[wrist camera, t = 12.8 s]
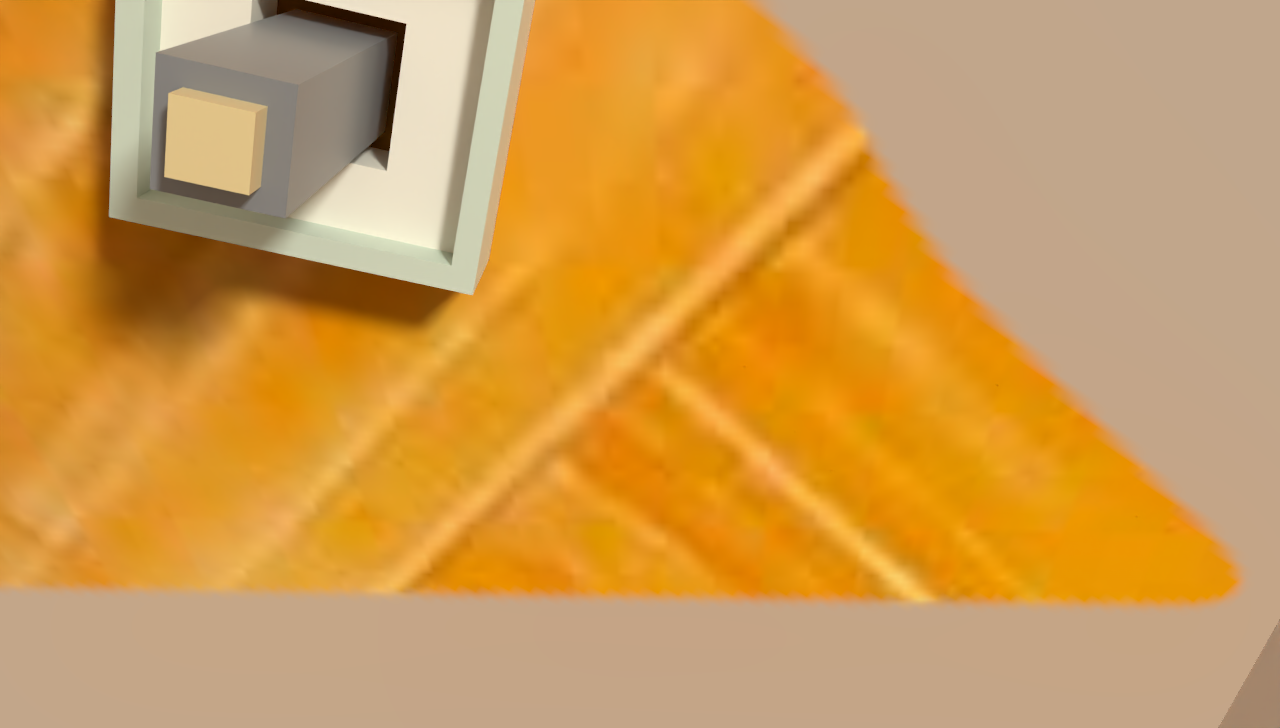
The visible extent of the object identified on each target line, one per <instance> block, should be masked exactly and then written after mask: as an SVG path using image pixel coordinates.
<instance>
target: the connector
mask: <svg viewBox="0 0 1280 728" xmlns="http://www.w3.org/2000/svg"><path fill="white" fill-rule="evenodd" d="M397 37H398V32H394V31H389V30H385V29H381V28H377V27H372V26H368V25H364V24H359V23H355V22H351V21H347V20H342V19H338V18H334V17H329V16H325V15H321V14H317V13H312V12H308V11H304V10H299V9H295V10H291V11H288V12H285V13H282V14H279V15H275V16H272V17H269V18H266V19H262V20H259V21H256V22H253V23H249V24H246V25H243V26H240V27H236V28H233V29H230V30H227V31H223V32H220V33H217V34H214V35H210V36H207V37H204V38H201V39H197V40H194V41H191V42H188V43H184V44H181V45H178V46H175V47H172V48H168V49H165V50H162V51H159V52H156V58H155V81H154V103H153V125H152V148H151V170H150V189H152V190H157V191H161V192H166V193H171V194H175V195H180V196H184V197H189V198H194V199H198V200H203V201H207V202H212V203H217V204H221V205H226V206H230V207H235V208H239V209H244V210H249V211H253V212H258V213H262V214H267V215H272V216H276V217H281V218H287V217H288V216H289V215H290V214H291V213H292V212H293V211H295V210H296V209H297V208H298V207H299V206H300V205H302V204H303V203H304V202H305V201H306V200H307V199H308V198H310V197H311V196H312V195H313V194H314V193H315V192H316V191H318V190H319V189H320V188H321V187H322V186H323V185H324V184H326V183H327V182H328V181H329V180H330V179H331V178H332V177H334V176H335V175H336V174H337V173H338V172H339V171H341V170H342V169H343V168H344V167H345V166H346V165H347V164H349V163H350V162H351V161H352V160H353V159H354V158H355V157H357V156H358V155H359V154H360V153H361V152H362V151H363V150H365V149H366V148H367V147H368V146H369V145H370V144H372V143H373V142H374V141H375V140H376V139H377V138H378V137H380V136H381V135H382V134H383V133H384V132H385V129H386V121H387V113H388V106H389V98H390V91H391V83H392V75H393V68H394V60H395V52H396V45H397Z"/></svg>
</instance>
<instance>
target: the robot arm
mask: <svg viewBox="0 0 1280 728" xmlns="http://www.w3.org/2000/svg"><path fill="white" fill-rule="evenodd" d="M1219 728H1280V620H1279V622H1278V624H1277V625H1276V627H1275V629H1274V631H1273V633H1272V634H1271V636H1270V638H1269V639H1268V641H1267V643H1266V645H1265V646H1264V648H1263V650H1262V652H1261V654H1260V655H1259V657H1258V659H1257V661H1256V662H1255V664H1254V666H1253V668H1252V669H1251V671H1250V673H1249V675H1248V677H1247V678H1246V680H1245V682H1244V684H1243V685H1242V687H1241V689H1240V691H1239V692H1238V694H1237V696H1236V698H1235V699H1234V701H1233V703H1232V705H1231V707H1230V708H1229V710H1228V712H1227V713H1226V715H1225V717H1224V719H1223V721H1222V722H1221V724H1220V726H1219Z"/></svg>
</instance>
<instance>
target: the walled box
mask: <svg viewBox="0 0 1280 728" xmlns="http://www.w3.org/2000/svg"><path fill="white" fill-rule="evenodd" d="M307 1H312V2H316V3H320V4H324V5H329V6H333V7H337V8H341V9H346V10H350V11H354V12H359V13H363V14H367V15H371V16H376V17H380V18H384V19H388V20H393V21H397V22H401V23H406V32H405V39H404V47H403V54H402V61H401V69H400V76H399V84H398V91H397V99H396V106H395V114H394V121H393V128H392V136H391V143H390V151H387V150H382V149H378V148H373V147H369V146H368V147H367V148H366V149H365V150H363V151H362V152H361V153H360V154H359V155H358V156H357V157H355V158H354V159H353V160H352V161H351V162H350V163H349V164H347V165H346V166H345V167H344V168H343V169H342V170H341V171H339V172H338V173H337V174H336V175H335V176H334V177H332V178H331V179H330V180H329V181H328V182H327V183H326V184H324V185H323V186H322V187H321V188H320V189H319V190H318V191H316V192H315V193H314V194H313V195H312V196H311V197H310V198H308V199H307V200H306V201H305V202H304V203H303V204H302V205H300V206H299V207H298V208H297V209H296V210H295V211H293V212H292V213H291V214H290V215H289V216H288V217H287V218H281V217H276V216H272V215H267V214H262V213H258V212H253V211H249V210H244V209H239V208H235V207H230V206H226V205H221V204H217V203H212V202H207V201H203V200H198V199H194V198H189V197H184V196H180V195H175V194H171V193H166V192H161V191H157V190H152V189H150V170H151V148H152V125H153V103H154V81H155V58H156V52H159V51H162V50H165V49H168V48H172V47H175V46H178V45H181V44H184V43H188V42H191V41H194V40H197V39H201V38H204V37H207V36H210V35H214V34H217V33H220V32H223V31H227V30H230V29H233V28H236V27H240V26H243V25H246V24H249V23H253V22H256V21H259V20H262V19H266V18H269V17H272V16H275V15H277V5H278V0H115V32H114V66H113V99H112V132H111V165H110V199H109V217H111V218H116V219H120V220H125V221H130V222H134V223H139V224H144V225H148V226H153V227H158V228H162V229H167V230H171V231H176V232H181V233H185V234H190V235H195V236H199V237H204V238H209V239H213V240H218V241H223V242H227V243H232V244H237V245H241V246H246V247H251V248H255V249H260V250H265V251H269V252H274V253H278V254H283V255H288V256H292V257H297V258H302V259H306V260H311V261H316V262H320V263H325V264H330V265H334V266H339V267H344V268H348V269H353V270H358V271H362V272H367V273H372V274H376V275H381V276H386V277H390V278H395V279H399V280H404V281H409V282H413V283H418V284H423V285H427V286H432V287H437V288H441V289H446V290H451V291H455V292H460V293H465V294H469V295H473V293H474V291H475V289H476V287H477V285H478V282H479V280H480V278H481V276H482V274H483V271H484V269H485V267H486V265H487V263H488V260H489V256H490V250H491V245H492V239H493V233H494V228H495V222H496V217H497V211H498V205H499V200H500V194H501V189H502V183H503V177H504V172H505V166H506V161H507V155H508V149H509V144H510V138H511V133H512V127H513V121H514V116H515V110H516V105H517V99H518V93H519V88H520V82H521V77H522V71H523V65H524V60H525V54H526V49H527V43H528V37H529V32H530V26H531V21H532V15H533V10H534V4H535V0H307Z"/></svg>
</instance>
